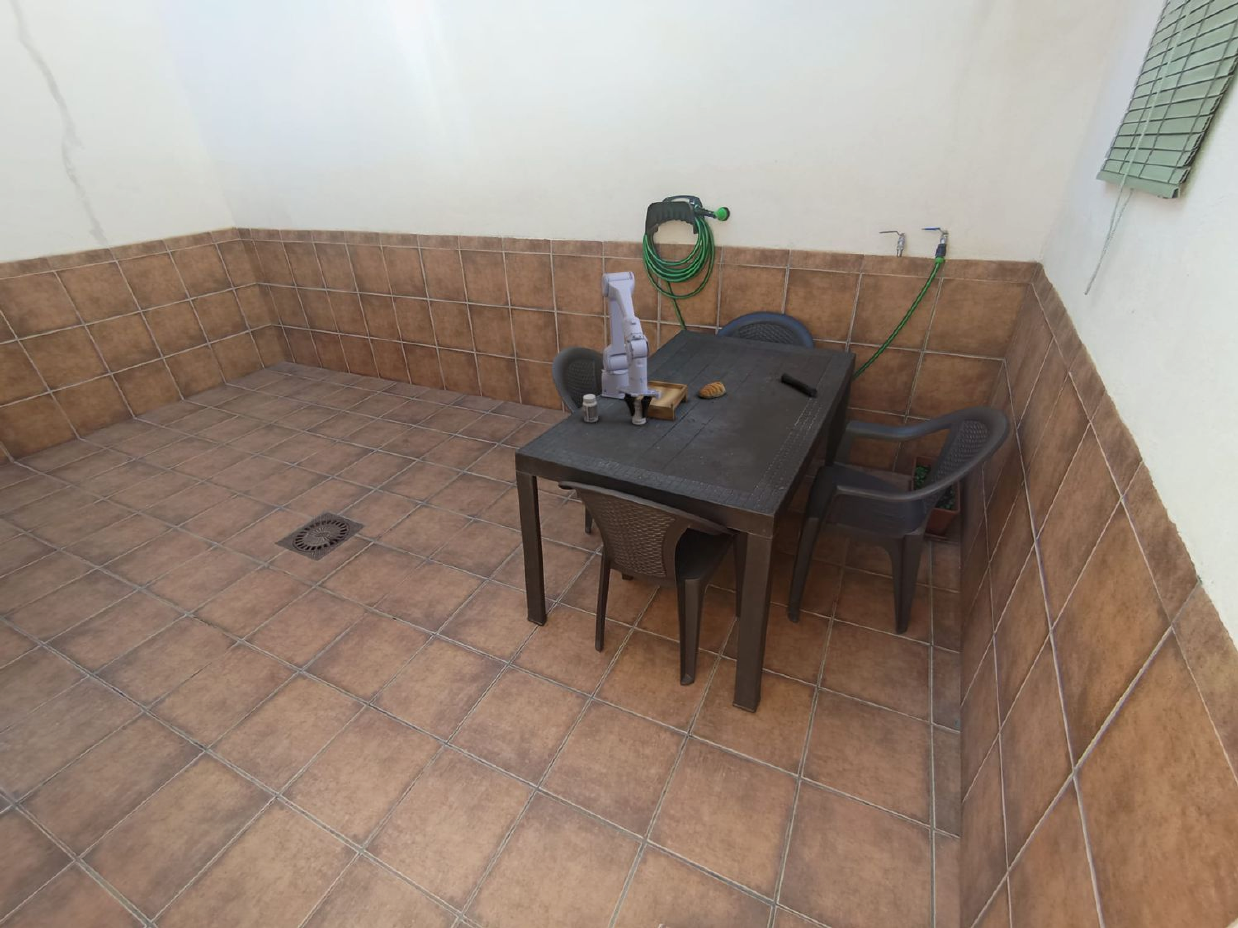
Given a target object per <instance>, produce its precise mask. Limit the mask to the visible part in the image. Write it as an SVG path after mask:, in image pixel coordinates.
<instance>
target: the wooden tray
mask: <svg viewBox="0 0 1238 928" xmlns="http://www.w3.org/2000/svg"><path fill="white" fill-rule="evenodd" d="M647 388H650V389H653V390H656V391H661V397H660V399H656V398H652V400H651V402H650V405H649V408H648V411H647V416H646V417H648V418H655V419H661V420H669V421H674V419H675V409H676V408H677V407H678V405H679V404H680V403H681V402H683V403H687V402H688V384H682V383H675V382H665V381H659V380H658V381H656V380H649V381H648V385H647ZM643 397H644V396H637V397H636V399H637V400H639V399H640V400H641V399H642V398H643Z"/></svg>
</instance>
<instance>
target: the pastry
mask: <svg viewBox="0 0 1238 928" xmlns="http://www.w3.org/2000/svg"><path fill="white" fill-rule="evenodd" d="M725 393H726V388H725V387H724V384H723V383H722V382H720V381H714V382H711V383H708V384H706V385H705V386H704V387H703V388H702V389H701V390H700V391H699V396H700V397H701V398H705V399H712V398H713V399H714V398H719V397H720V396H723V395H724V394H725Z"/></svg>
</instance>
